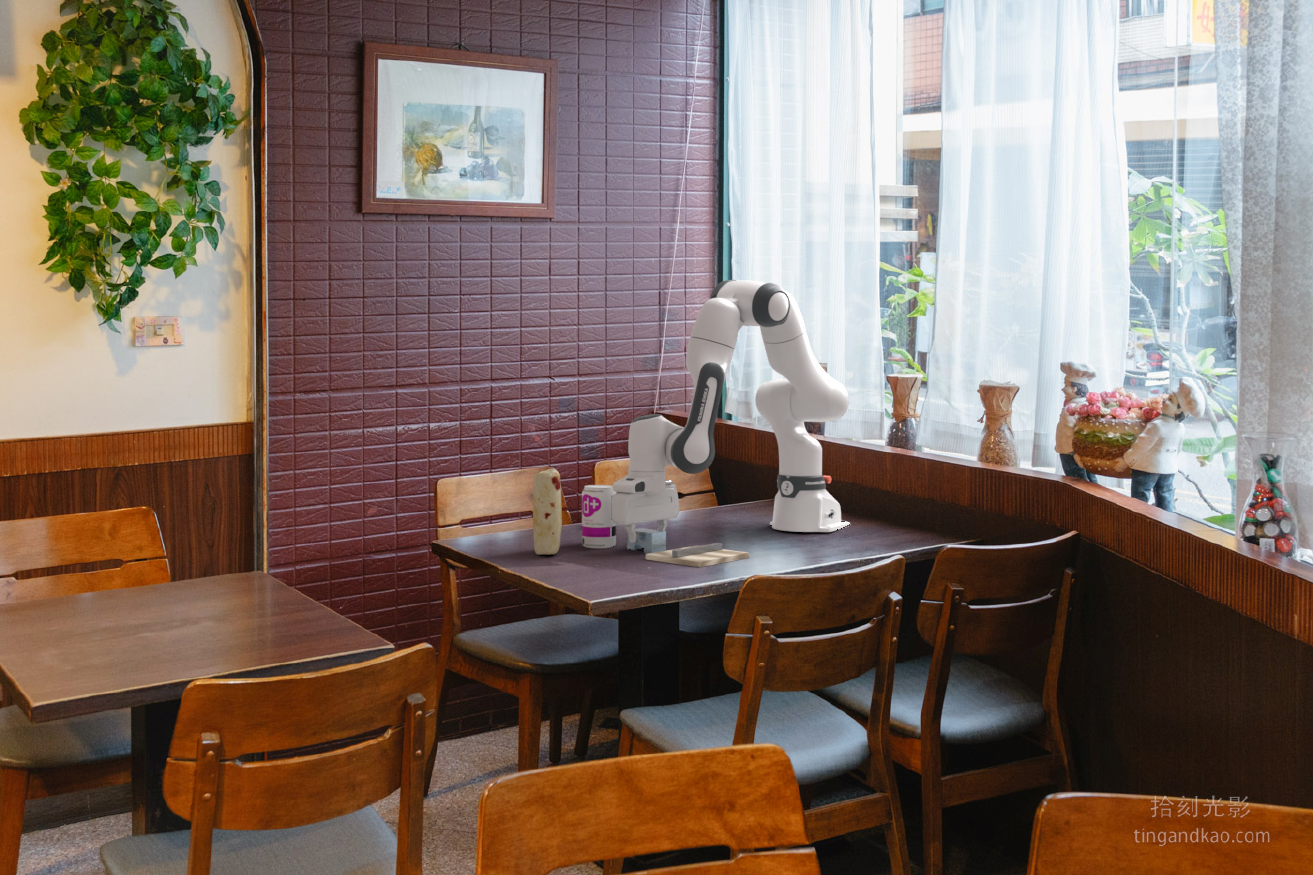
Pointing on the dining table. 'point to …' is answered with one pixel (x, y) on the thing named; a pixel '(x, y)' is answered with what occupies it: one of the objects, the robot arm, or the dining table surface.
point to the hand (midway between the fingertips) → (646, 540)
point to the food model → (547, 512)
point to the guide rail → (696, 550)
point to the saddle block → (648, 540)
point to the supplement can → (598, 517)
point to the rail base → (698, 557)
